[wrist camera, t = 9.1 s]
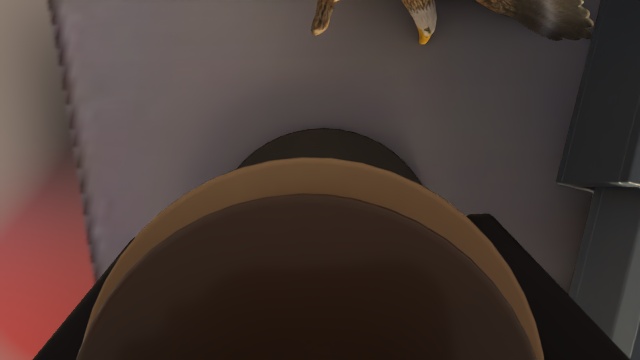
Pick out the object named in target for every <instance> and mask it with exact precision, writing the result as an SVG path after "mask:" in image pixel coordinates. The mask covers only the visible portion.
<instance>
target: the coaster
mask: <svg viewBox="0 0 640 360" xmlns="http://www.w3.org/2000/svg"><path fill="white" fill-rule="evenodd" d="M300 157H306V158H334V159H340V160H347V161H353V162H360V163H364V164H367V165H371V166H374V167H378V168H381V169H384V170H388V171H391V172H394V173H396V174H398V175H400V176H403V177H405V178H407V179H409V180H412V181H414V182H416V183H418V184H420V185H422V184H421V183H420V181H419V180H418V178H417V177H416V175H415V174H414V173H413V171H412V170H411V169H410V168H409V167H408V166H407V164H406V163H405V162H404V161H403V160H402V159H400V158H399V157H398V156H397V155H396V154H395V153H394V152H392V151H391V150H389V149H388V148H386V147H385V146H383V145H382V144H380V143H378V142H376V141H374V140H372V139H370V138H368V137H366V136H363V135H360V134H357V133H354V132H350V131H345V130H340V129H328V128H320V129H307V130H302V131H297V132H293V133H290V134H287V135H284V136H281V137H279V138H277V139H275V140H273V141H271V142H268V143H267V144H265V145H264V146H262V147H261V148H259V149H258V150H256V151H255V152H254V153H252V154H251V155H250V156H249V157H248V158H247V159H245V160H244V161H243V162H242V164H241V165H240V166H239V167H238V168H237V169H239V168H242V167H246V166H251V165H255V164H259V163H263V162H267V161H272V160H281V159H291V158H300ZM237 169H236V170H237Z"/></svg>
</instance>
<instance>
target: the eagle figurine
mask: <svg viewBox="0 0 640 360" xmlns="http://www.w3.org/2000/svg"><path fill="white" fill-rule="evenodd" d="M337 1H338V0H318V2H317V10H316V16H315V18H314V20H313V24H312V29H311V32H312V34H313V35H314V36H316V35H319V34H321V33H322V32H323V31H325V30H326V29H327V28H328V25H329V21H330V17H331V13H332V11H333V9H334V3H335V2H337ZM401 1H402V3H403V4H404V5H405V6H406V8H407V9H408V11H409V13H410V14H411V16H412V17H413V19H414V21H415V23H416V26H417V28H418V31H419V44H425V43H426V42H427V41H428V40H429V38H430V36H431V34H433V32H434V31H435V26H436V21H437V13H436V4H435V0H401ZM476 1H477V2H479V3H480V4H482V5H484V6H485V7H487V8H488V9H490V10H492V11H494V12H497V13H500V14H503V15H507V16H511V17H513V18H515V19H517V20H518V21H519V22H520V23H521V24H522V25H524V26H525V27H527V28H528V29H530V30H532V31H534V32H535V33H537V34H539V35H541V36H544V37H546V38H548V39H551V40H555V41H559V40H562V39H563V38H566V39H570V40H579V39H580V38H586V39H590V38H592V32H591V30H590V29H589V27H593V25H594V22H593V21H592V19H591V18H589V15H590V12H589V10H588V9H586V8H585V7H583V6H582V4H583V2H584V1H583V0H476Z"/></svg>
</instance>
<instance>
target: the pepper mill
mask: <svg viewBox="0 0 640 360" xmlns="http://www.w3.org/2000/svg"><path fill="white" fill-rule="evenodd" d="M76 360H544V353H543V349H542V345H541V341H540V337H539V333H538V329H537V325H536V322H535V319H534V317H533V314H532V311H531V309H530V306H529V304H528V301H527V299H526V296H525V294H524V292H523V290H522V288H521V286H520V285H519V283H518V281H517V279H516V277H515V276H514V274H513V272H512V270H511V268H510V267H509V265H508V264H507V262H506V261H505V260H504V258H503V257H502V256H501V254H500V253H499V252H498V250H497V249H496V247H495V246H494V245H493V243H492V242H491V241H490V240H489V239H488V238H487V237H486V236H485V235H484V234H483V233H482V232H481V230H480V229H479V228H478V227H477V226H476V225H475V224H474V223H473V222H472V221H471V220H470V219H469V218H468V217H466V216H465V215H464V214H463V213H461V212H460V211H459V210H458V209H456V208H455V207H454V206H453V205H451V204H450V203H449V202H448V201H446V200H445V199H443V198H442V197H440V196H438V195H437V194H435V193H433V192H432V191H430V190H429V189H427V188H425V187H424V186H422V185H420V184H418V183H416V182H414V181H412V180H409V179H407V178H405V177H403V176H400V175H398V174H396V173H394V172H391V171H388V170H384V169H381V168H378V167H374V166H371V165H367V164H364V163H360V162H353V161H347V160H340V159H334V158H306V157H300V158H291V159H281V160H272V161H267V162H263V163H259V164H255V165H251V166H246V167H242V168H239V169H237V170H234V171H232V172H229V173H226V174H224V175H221V176H219V177H216V178H213V179H211V180H210V181H208V182H206V183H204V184H202V185H200V186H199V187H197V188H195V189H193V190H191V191H189V192H188V193H186V194H185V195H183V196H182V197H180V198H179V199H178V200H176V201H175V202H174V203H172V204H171V205H169V206H168V207H167V208H165V209H164V210H163V211H161V212H160V213H159V214H158V215H157V216H156V217H155V218H154V219H153V220H152V221H151V222H150V223H149V224H148V225H147V226H146V227H144V228H143V229H142V230H141V231H140V232H139V234H138V235H137V236H136V237H135V238H134V240H133V241H132V242H131V243H130V245H129V246H128V247H127V248H126V250H125V251H124V252H123V253H122V255H121V256H120V257H119V259H118V261H117V262H116V264H115V266H114V267H113V269H112V270H111V272H110V274H109V275H108V277H107V279H106V280H105V282H104V284H103V286H102V289H101V291H100V293H99V295H98V298H97V300H96V302H95V304H94V307H93V309H92V312H91V315H90V319H89V322H88V325H87V329H86V332H85V335H84V339H83V343H82V346H81V348H80V350H79V353H78V356H77V359H76Z"/></svg>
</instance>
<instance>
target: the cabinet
mask: <svg viewBox="0 0 640 360" xmlns="http://www.w3.org/2000/svg"><path fill="white" fill-rule="evenodd" d="M556 183H557V184H560V185H564V186H568V187H572V188H576V189H580V190H584V191H588V192H592V193H594V189H595V187H638V188H640V0H601V4H600V8H599V12H598V16H597V20H596V24H595V28H594V32H593V36H592V40H591V44H590V48H589V52H588V56H587V60H586V64H585V68H584V72H583V76H582V80H581V84H580V88H579V92H578V96H577V100H576V104H575V108H574V112H573V116H572V120H571V124H570V128H569V132H568V136H567V140H566V144H565V148H564V152H563V156H562V160H561V164H560V168H559V172H558V176H557V180H556Z"/></svg>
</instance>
